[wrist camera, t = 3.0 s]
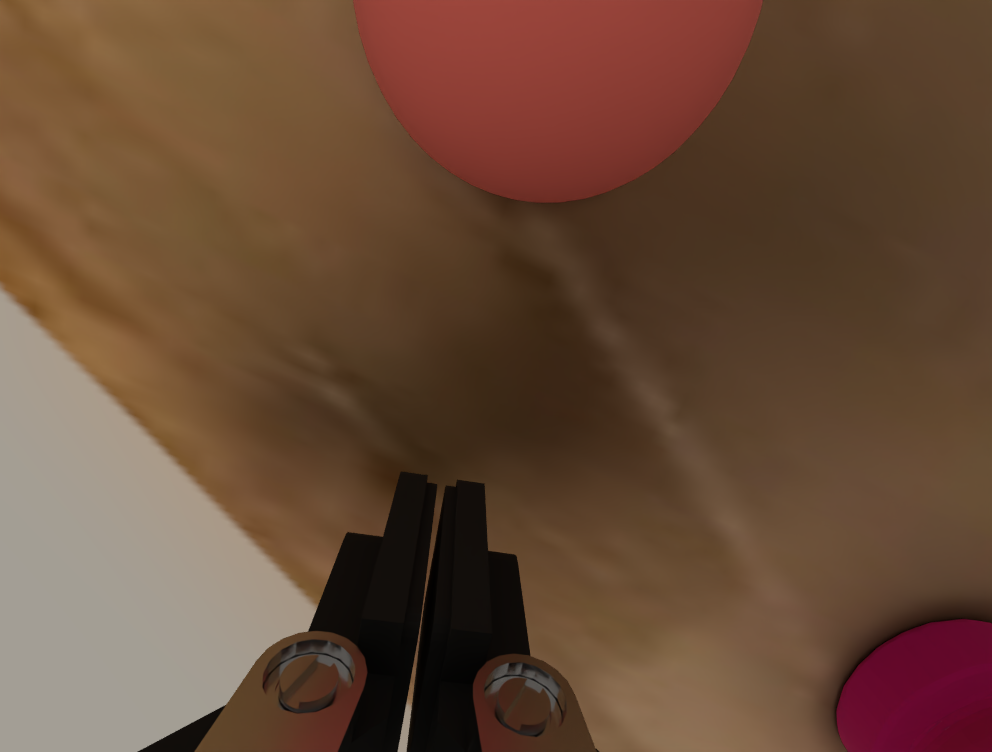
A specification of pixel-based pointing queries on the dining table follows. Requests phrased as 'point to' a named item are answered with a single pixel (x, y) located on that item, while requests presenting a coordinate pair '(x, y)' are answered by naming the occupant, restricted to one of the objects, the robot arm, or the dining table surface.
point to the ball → (553, 84)
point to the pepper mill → (922, 692)
